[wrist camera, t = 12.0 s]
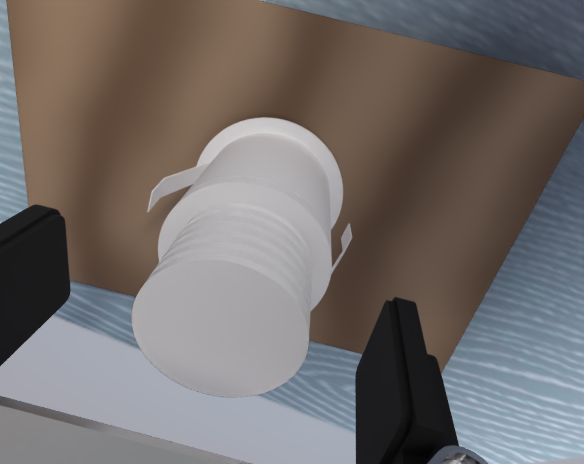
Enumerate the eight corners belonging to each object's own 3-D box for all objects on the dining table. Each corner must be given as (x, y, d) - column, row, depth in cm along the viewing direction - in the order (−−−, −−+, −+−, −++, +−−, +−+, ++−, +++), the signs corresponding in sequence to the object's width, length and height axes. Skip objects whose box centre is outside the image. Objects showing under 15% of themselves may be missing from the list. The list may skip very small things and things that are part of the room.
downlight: (172, 221, 20) (54, 376, 11) (208, 86, 17) (81, 155, 8) (318, 274, 21) (312, 456, 12) (378, 155, 18) (428, 284, 9)
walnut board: (581, 80, 17) (601, 84, 15) (435, 354, 24) (441, 373, 23) (26, -57, 17) (-1, -64, 15) (52, 258, 24) (35, 271, 23)
